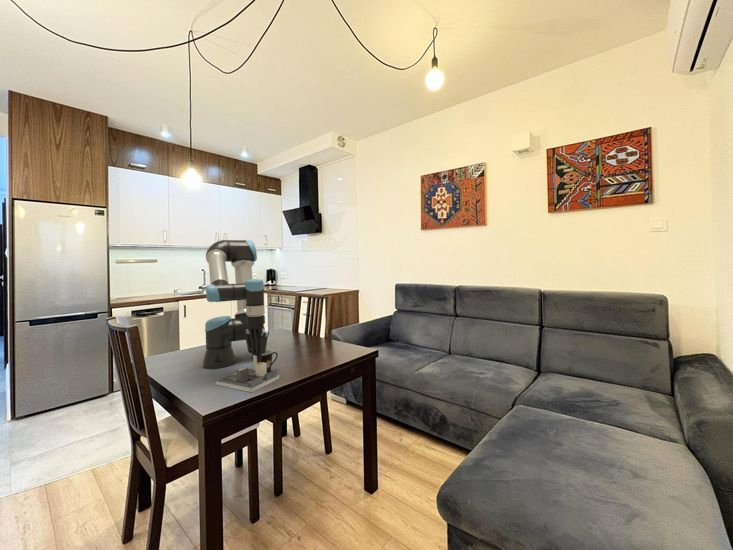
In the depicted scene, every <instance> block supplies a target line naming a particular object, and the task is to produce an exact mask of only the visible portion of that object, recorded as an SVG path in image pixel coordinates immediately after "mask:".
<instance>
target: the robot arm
mask: <svg viewBox="0 0 733 550" xmlns="http://www.w3.org/2000/svg"><path fill="white" fill-rule="evenodd" d="M257 257H258V255H257V249H256V245H255V243H254V242H253V241H252V240H246V239H242V240H240V239H239V240H238V239H236V240H235V239H220V240H217V241H216V242H214V243H212V244H210V246H209V247H208V249H207V250H206V253H205V260H206V262H207V263H208V269H209V281H210V284H207V285H206V287H205V288H206V289H205V290H206V301H207V302H208V303H219V302H220V303H221V302H233V301H234V302H235V301H236V307H237V312H236V313H235V314H234V318H232V317H231V316H230V315H223V316H218V317H213V318H210V319H208V320H206V322H205V325H204V326H205V328H204V332H205V353H204V356H203V360H202V368H205V369H221V368H226V367H230V366H232V365H234V364H236V363H237V358H236V355H235V351H234V349H233V347H232V342H233V343H234V342H239V341H240V342H241V341H246V346H247V353H249V354H251V356H252V362H253V370H255V365H257V364H259V363H261V361H262V356H261V355H262V354H263V353H265V351H266V350H267V343H268V337H269V336H270V332H269V331H266V330H265V324H266V316H265V313H266V311H265V284H264V280H263V278H262V279H259V278H258V279H253V268H252V267H253V266H254V265H255V262H257V260H258V258H257ZM226 262H228V263H229V262H230V263H231V266H232V267H233V268H234V276H235V283H230V282H229V278H228V277H229V276H228V271H227V264H226Z"/></svg>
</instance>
